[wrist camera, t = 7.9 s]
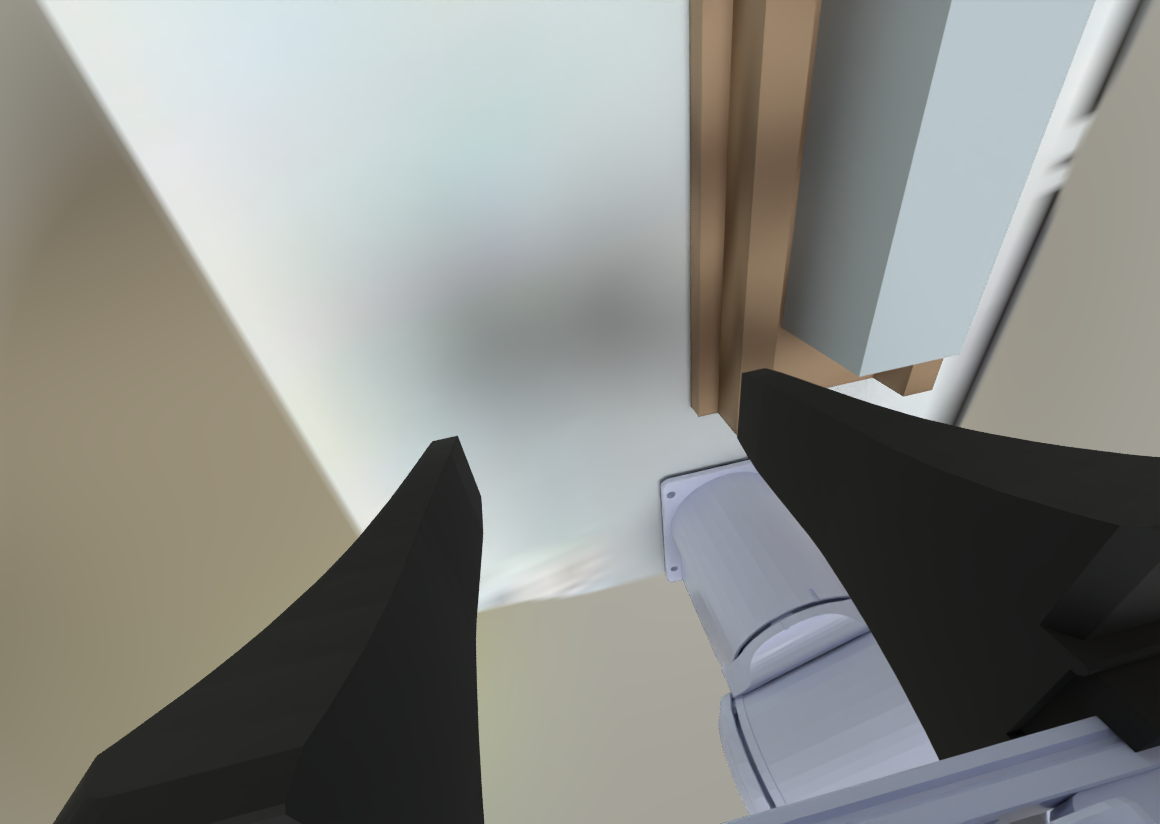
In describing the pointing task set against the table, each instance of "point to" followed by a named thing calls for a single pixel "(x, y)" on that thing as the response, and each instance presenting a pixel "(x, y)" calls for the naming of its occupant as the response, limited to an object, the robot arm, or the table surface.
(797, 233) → the orange-capped grey pillar
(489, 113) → the table surface
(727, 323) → the wooden rail tray
